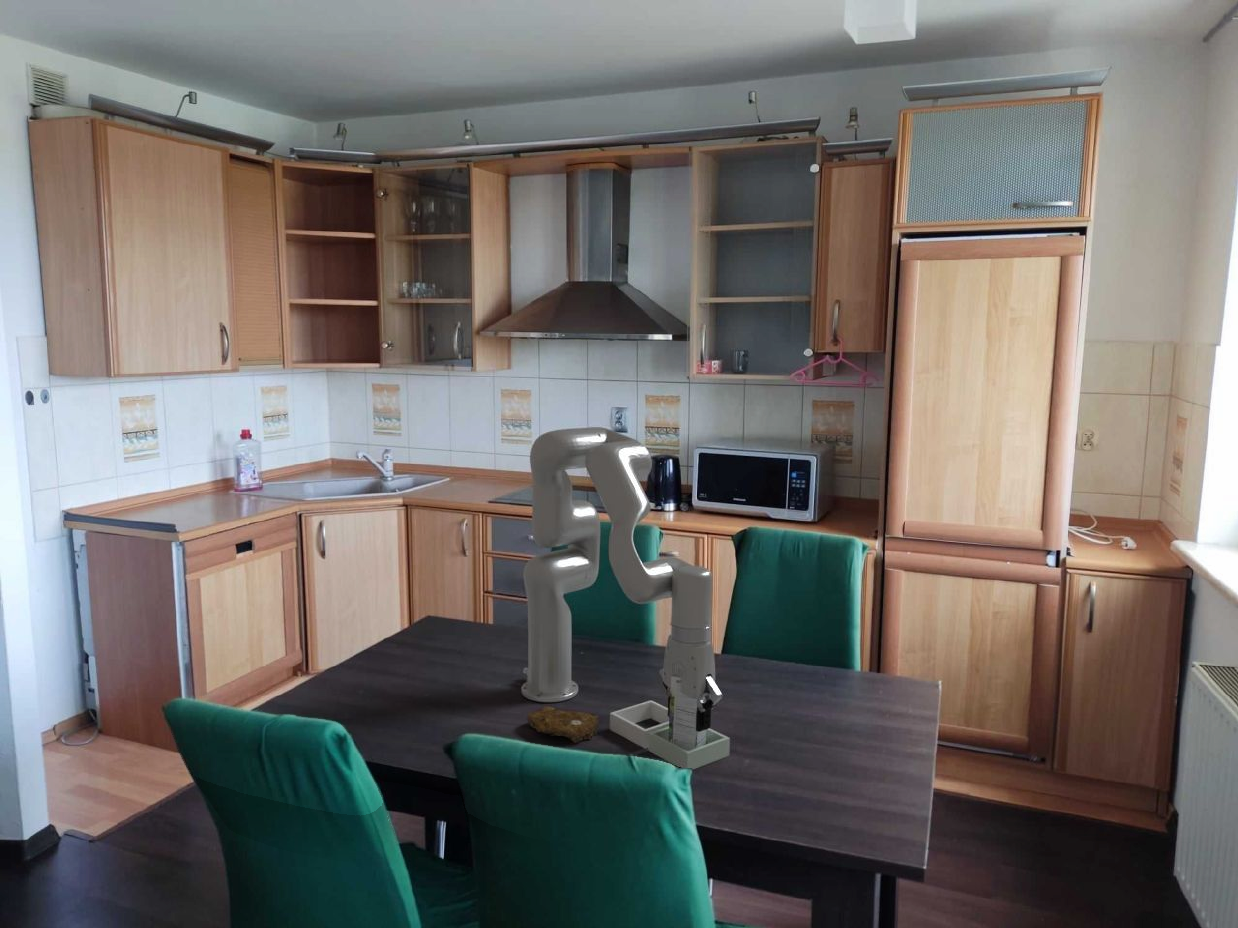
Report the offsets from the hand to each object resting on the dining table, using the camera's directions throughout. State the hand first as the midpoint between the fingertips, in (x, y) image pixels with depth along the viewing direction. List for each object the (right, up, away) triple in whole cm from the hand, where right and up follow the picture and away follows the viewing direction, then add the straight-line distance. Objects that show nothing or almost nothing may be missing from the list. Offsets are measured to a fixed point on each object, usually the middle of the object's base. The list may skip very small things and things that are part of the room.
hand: (688, 721), depth 174 cm
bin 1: (-7, -5, +10) cm, 13 cm away
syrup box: (0, -5, +1) cm, 5 cm away
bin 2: (0, -6, +1) cm, 6 cm away
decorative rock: (-25, -5, +10) cm, 27 cm away
